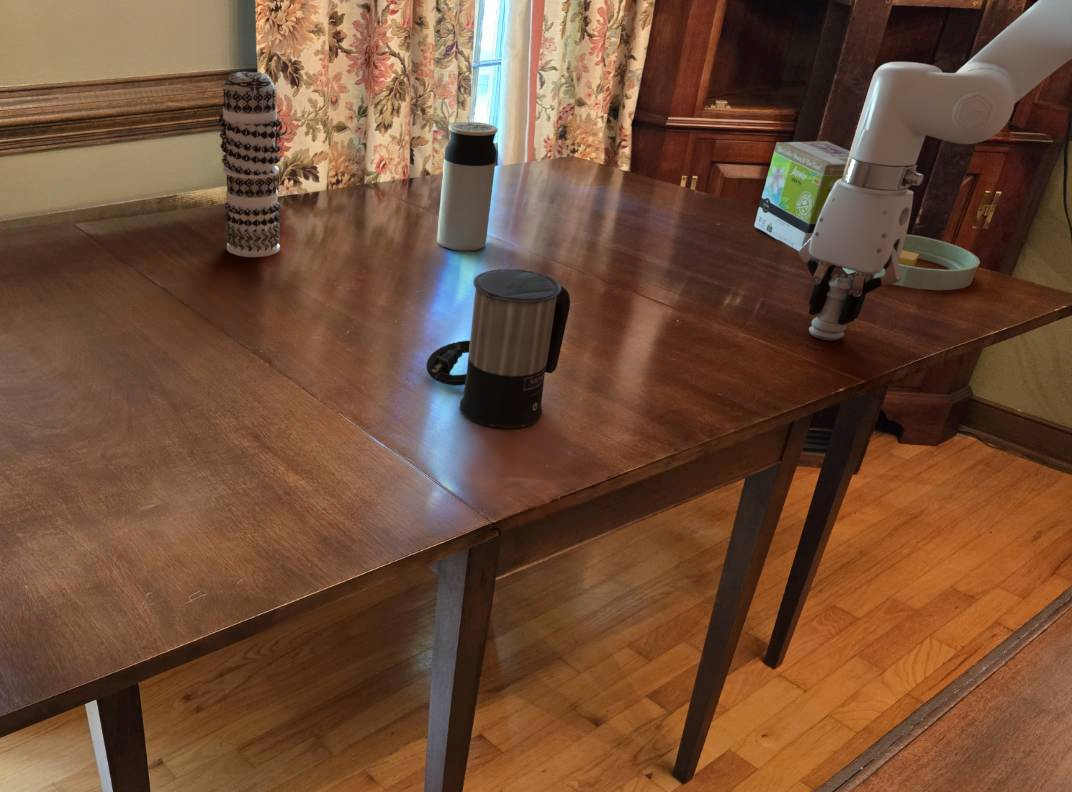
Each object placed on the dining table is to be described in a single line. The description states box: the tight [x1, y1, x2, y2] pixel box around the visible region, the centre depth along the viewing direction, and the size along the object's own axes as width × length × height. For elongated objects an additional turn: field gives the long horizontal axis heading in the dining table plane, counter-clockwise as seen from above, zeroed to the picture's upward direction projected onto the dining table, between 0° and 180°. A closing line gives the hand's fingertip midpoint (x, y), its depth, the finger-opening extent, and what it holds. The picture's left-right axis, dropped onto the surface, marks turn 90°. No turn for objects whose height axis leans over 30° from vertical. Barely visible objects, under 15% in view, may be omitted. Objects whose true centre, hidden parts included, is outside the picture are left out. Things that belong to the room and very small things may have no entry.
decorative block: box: [898, 250, 919, 267], centre depth 147 cm, size 4×4×4 cm
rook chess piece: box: [808, 273, 855, 341], centre depth 127 cm, size 4×4×8 cm
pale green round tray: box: [841, 233, 981, 291], centre depth 149 cm, size 18×18×4 cm
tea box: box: [754, 140, 850, 252], centre depth 161 cm, size 15×10×15 cm, turn 11°
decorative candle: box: [217, 71, 283, 258], centre depth 144 cm, size 9×9×25 cm
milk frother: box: [426, 268, 571, 429], centre depth 107 cm, size 14×16×15 cm
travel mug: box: [436, 121, 498, 252], centre depth 152 cm, size 8×8×18 cm
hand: (831, 316), depth 128 cm, fingers closed on rook chess piece, 3 cm apart
